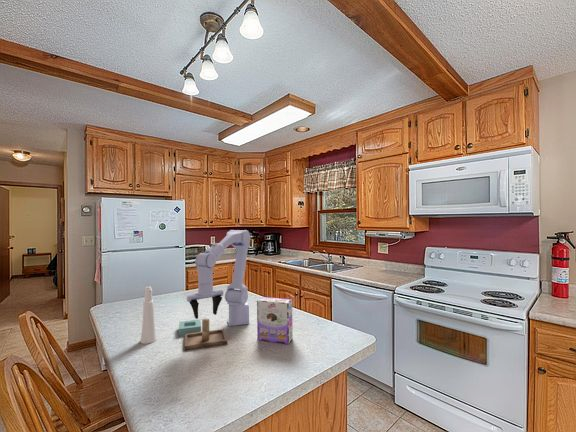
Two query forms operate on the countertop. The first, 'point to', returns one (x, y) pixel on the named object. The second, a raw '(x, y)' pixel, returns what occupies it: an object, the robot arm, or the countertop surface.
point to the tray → (196, 341)
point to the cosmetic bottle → (148, 319)
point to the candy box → (274, 320)
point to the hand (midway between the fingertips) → (205, 316)
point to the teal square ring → (189, 327)
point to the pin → (205, 329)
